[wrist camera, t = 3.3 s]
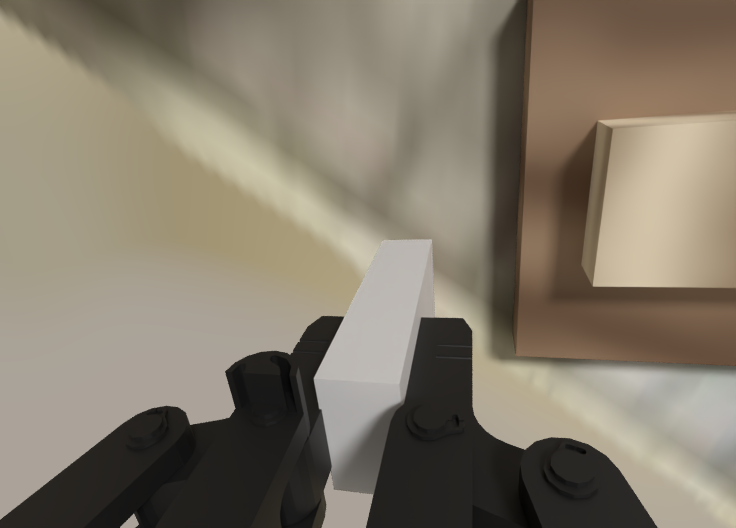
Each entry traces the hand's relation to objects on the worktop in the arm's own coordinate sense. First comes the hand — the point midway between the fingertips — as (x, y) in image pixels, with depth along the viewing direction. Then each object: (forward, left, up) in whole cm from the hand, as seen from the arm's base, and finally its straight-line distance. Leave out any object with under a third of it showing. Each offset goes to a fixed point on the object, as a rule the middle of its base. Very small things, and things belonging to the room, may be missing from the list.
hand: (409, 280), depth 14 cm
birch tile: (0, +11, -7) cm, 13 cm away
